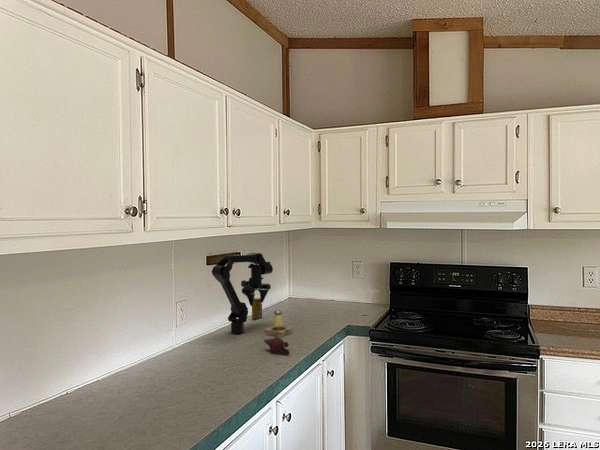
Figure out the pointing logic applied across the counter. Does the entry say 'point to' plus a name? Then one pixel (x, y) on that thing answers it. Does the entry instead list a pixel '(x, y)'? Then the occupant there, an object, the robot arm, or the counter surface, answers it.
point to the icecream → (277, 345)
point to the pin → (278, 320)
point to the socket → (276, 333)
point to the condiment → (256, 309)
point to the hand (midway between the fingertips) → (256, 304)
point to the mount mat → (267, 327)
